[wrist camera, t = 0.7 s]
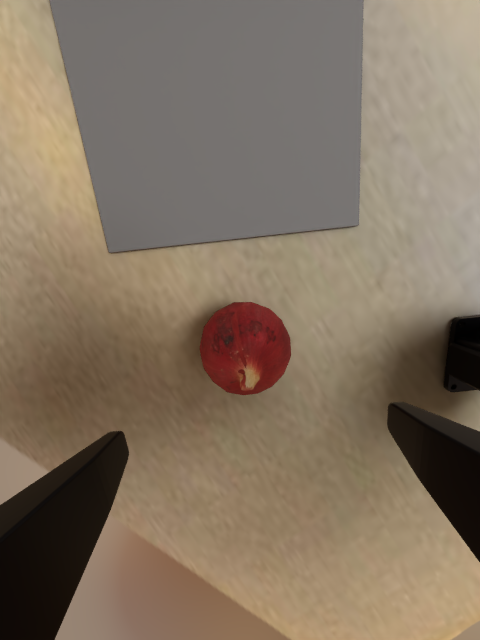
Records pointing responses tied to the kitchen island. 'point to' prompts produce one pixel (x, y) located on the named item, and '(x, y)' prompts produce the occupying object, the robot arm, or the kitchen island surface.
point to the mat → (216, 115)
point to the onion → (245, 348)
